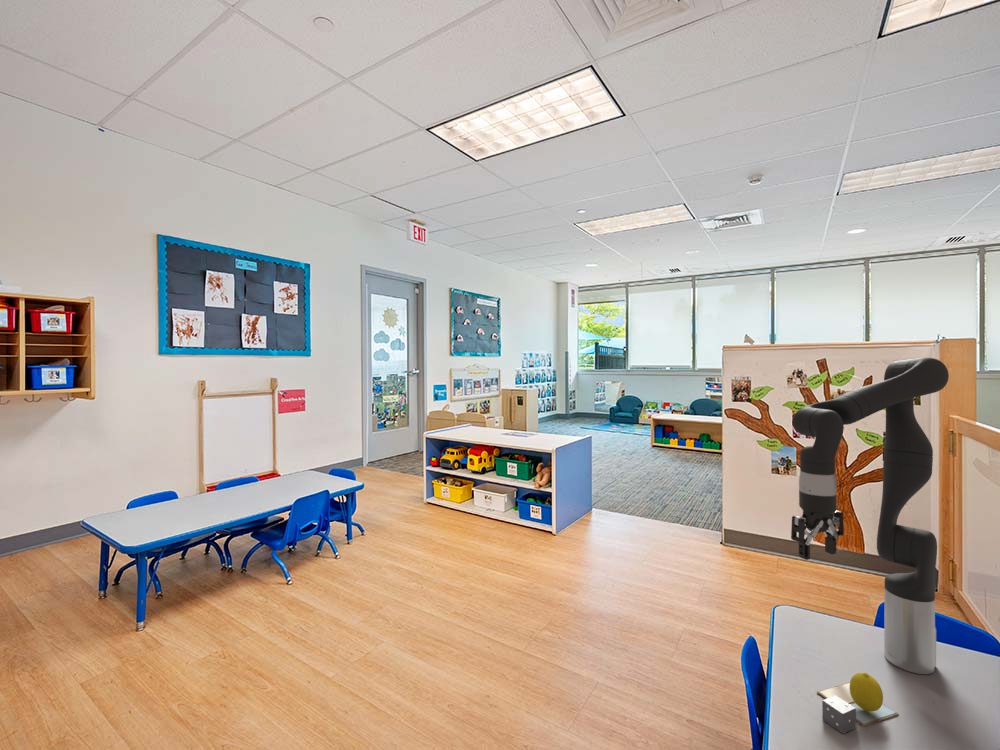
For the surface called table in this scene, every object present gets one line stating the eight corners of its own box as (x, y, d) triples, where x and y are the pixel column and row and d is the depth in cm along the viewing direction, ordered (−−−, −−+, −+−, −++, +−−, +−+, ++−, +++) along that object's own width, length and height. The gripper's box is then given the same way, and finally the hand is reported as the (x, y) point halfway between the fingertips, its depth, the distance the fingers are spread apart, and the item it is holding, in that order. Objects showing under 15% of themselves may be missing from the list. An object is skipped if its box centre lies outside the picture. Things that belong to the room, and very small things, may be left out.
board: (849, 683, 105) (849, 681, 105) (898, 715, 96) (898, 713, 96) (816, 693, 103) (816, 691, 103) (863, 726, 93) (863, 724, 93)
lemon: (889, 722, 93) (889, 684, 93) (858, 719, 94) (858, 680, 94) (872, 703, 99) (873, 666, 99) (843, 699, 100) (844, 663, 100)
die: (835, 694, 96) (856, 708, 92) (835, 714, 96) (856, 728, 93) (822, 699, 95) (843, 713, 91) (822, 719, 95) (843, 734, 91)
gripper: (810, 497, 106) (810, 567, 107) (854, 490, 110) (854, 557, 111) (781, 489, 113) (781, 554, 114) (823, 483, 118) (824, 545, 118)
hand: (817, 555), depth 112 cm, fingers open, 8 cm apart
